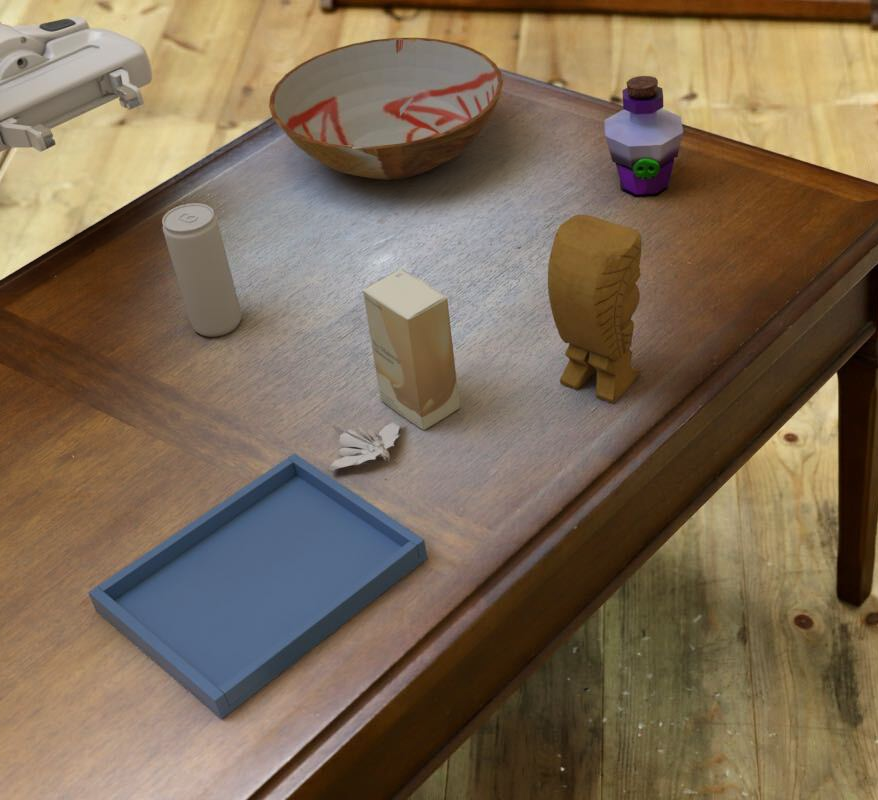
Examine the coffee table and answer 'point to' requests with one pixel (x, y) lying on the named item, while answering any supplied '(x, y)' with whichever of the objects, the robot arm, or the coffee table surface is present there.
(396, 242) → the coffee table surface
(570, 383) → the figurine
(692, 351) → the coffee table surface
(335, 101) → the bowl
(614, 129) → the potion bottle
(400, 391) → the cosmetic box
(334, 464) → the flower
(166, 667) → the tray
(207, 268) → the beverage can
